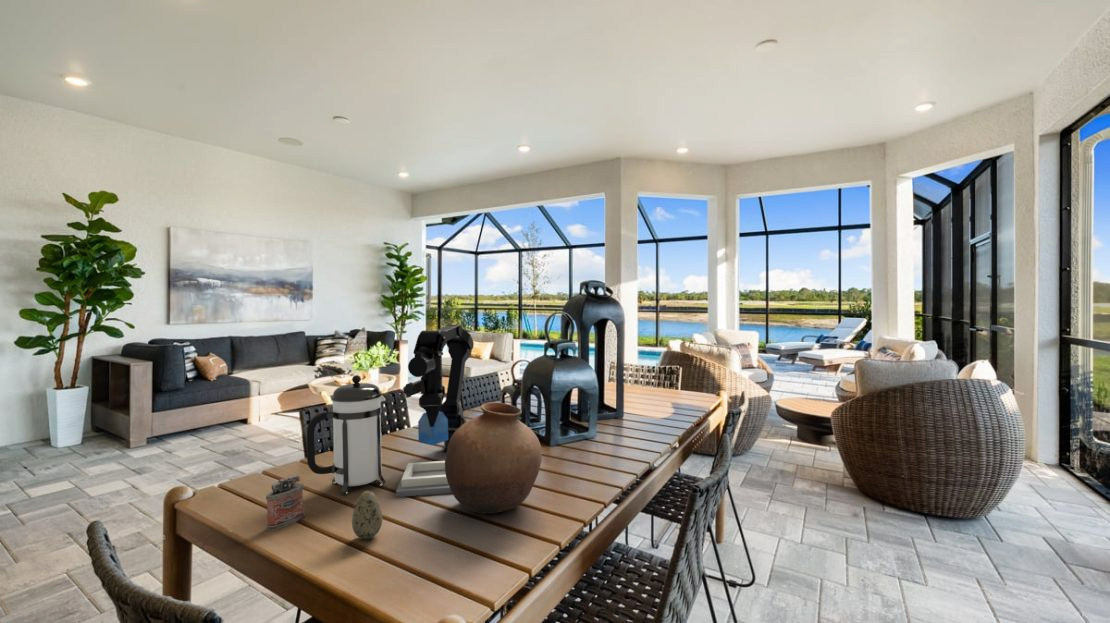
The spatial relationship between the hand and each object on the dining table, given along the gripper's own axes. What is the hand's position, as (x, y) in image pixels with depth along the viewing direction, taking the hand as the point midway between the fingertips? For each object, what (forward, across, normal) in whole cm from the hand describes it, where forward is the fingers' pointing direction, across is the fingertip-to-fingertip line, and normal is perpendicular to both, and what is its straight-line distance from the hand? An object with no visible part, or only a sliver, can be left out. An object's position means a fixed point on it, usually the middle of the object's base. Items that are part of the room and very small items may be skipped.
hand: (433, 422), depth 147 cm
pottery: (+13, +34, +17) cm, 40 cm away
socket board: (+13, +14, 0) cm, 19 cm away
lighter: (+13, +33, -30) cm, 47 cm away
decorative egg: (+13, +44, -10) cm, 47 cm away
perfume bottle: (+6, 0, 0) cm, 6 cm away
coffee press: (+13, +13, -20) cm, 27 cm away
